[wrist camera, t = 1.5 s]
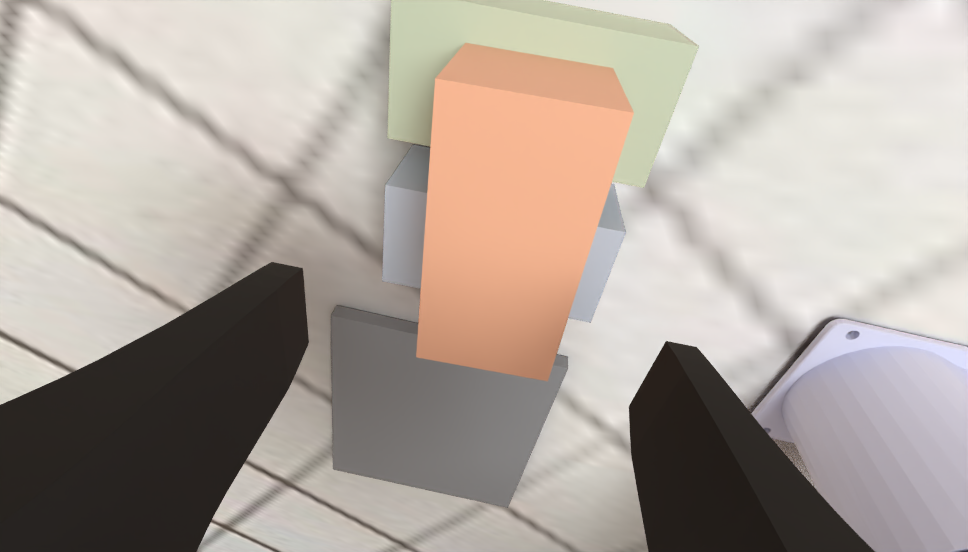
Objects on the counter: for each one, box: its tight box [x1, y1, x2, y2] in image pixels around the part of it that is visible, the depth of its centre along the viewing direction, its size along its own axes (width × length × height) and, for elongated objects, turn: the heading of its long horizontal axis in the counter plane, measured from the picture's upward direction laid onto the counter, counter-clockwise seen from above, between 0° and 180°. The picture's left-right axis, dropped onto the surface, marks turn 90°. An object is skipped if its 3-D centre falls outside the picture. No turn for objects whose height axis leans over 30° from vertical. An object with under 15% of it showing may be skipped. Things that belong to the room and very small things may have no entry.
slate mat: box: [331, 305, 568, 508], centre depth 28 cm, size 12×14×1 cm
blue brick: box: [382, 145, 626, 323], centre depth 18 cm, size 8×4×4 cm, turn 81°
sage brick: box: [387, 0, 699, 188], centre depth 15 cm, size 8×4×4 cm, turn 81°
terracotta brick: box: [416, 43, 634, 381], centre depth 13 cm, size 8×4×4 cm, turn 172°
